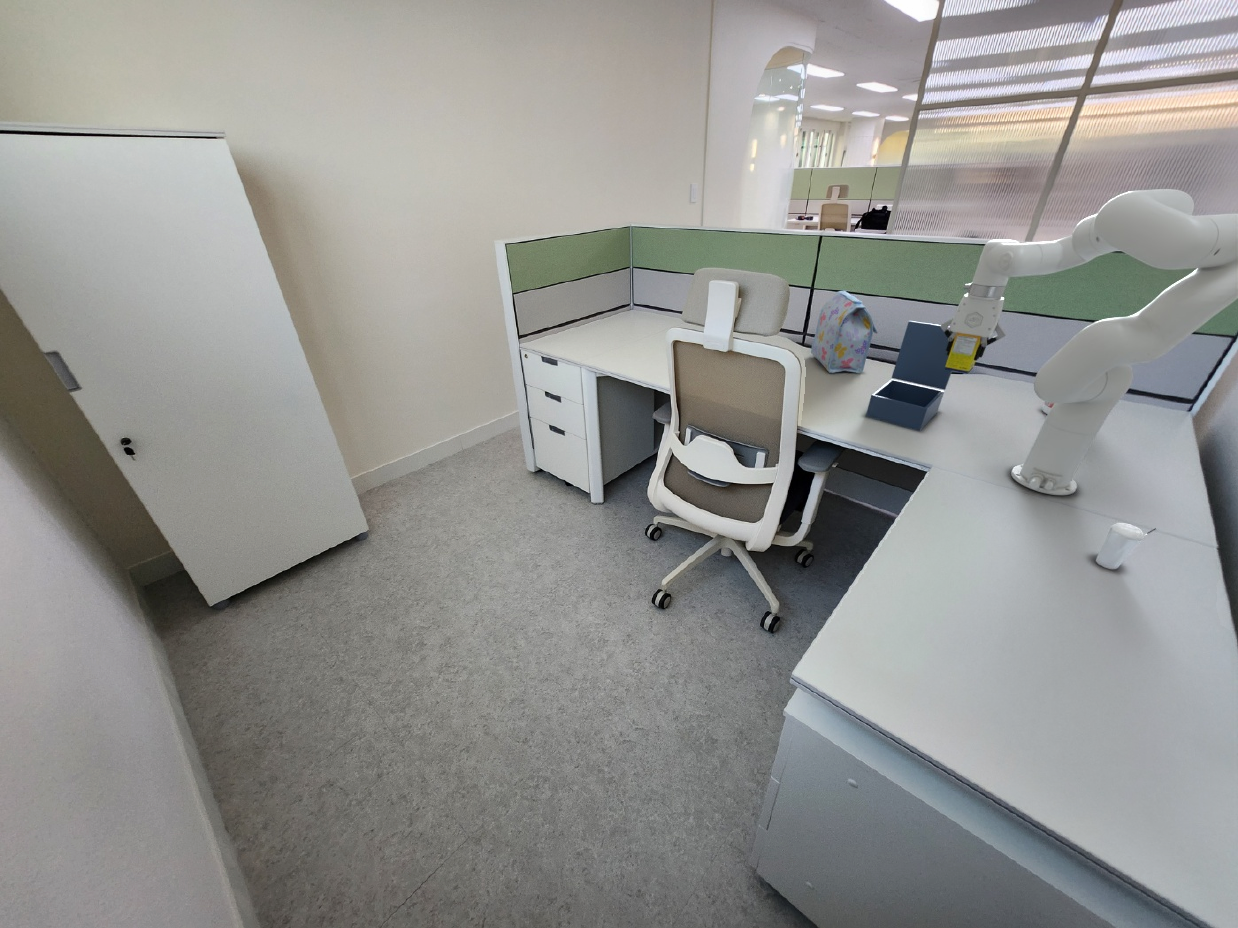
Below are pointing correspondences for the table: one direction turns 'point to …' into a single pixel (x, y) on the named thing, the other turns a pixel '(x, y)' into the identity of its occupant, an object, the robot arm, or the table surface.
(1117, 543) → the milkshake
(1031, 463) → the robot arm
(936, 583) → the table surface
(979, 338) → the supplement box
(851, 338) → the lunch bag
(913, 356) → the lunchbox lid
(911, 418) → the box
